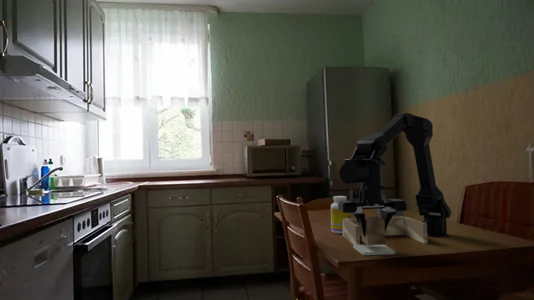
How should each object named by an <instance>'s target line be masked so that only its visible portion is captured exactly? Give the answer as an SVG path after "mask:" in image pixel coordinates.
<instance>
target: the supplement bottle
mask: <svg viewBox="0 0 534 300" xmlns="http://www.w3.org/2000/svg"><path fill="white" fill-rule="evenodd" d="M332 198H333V203H331V204H330V222H331V224H330V226H331V227H330V229H331V230H330V231H331V232H332V233H333V234H338V235H341V234H342V235H343V225H342V219H350V218H351V213H343V212H341V211H339V210H338V203H339V202H340V201H348V200H347V196H346V195H345V196H344V195H337V196H336V195H335V196H333V197H332Z"/></svg>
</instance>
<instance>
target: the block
mask: <svg viewBox="0 0 534 300" xmlns="http://www.w3.org/2000/svg"><path fill="white" fill-rule="evenodd" d="M365 226H366V234H365V236H363V235H362V236H361V242H362V243H364V244H367V245H386V235H385V222H384V219H382V218H379V217H378V216H369V217H367V216H365Z"/></svg>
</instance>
